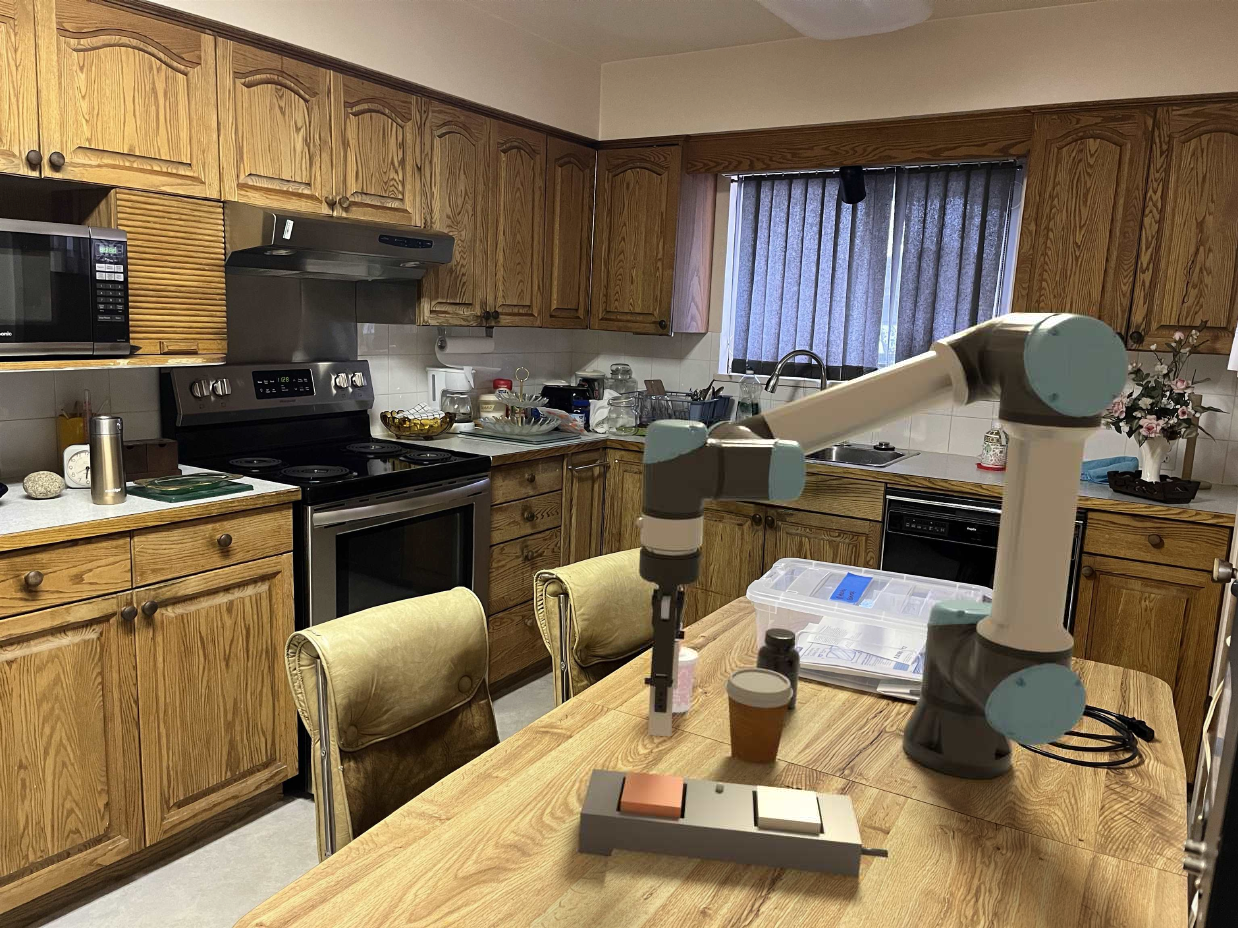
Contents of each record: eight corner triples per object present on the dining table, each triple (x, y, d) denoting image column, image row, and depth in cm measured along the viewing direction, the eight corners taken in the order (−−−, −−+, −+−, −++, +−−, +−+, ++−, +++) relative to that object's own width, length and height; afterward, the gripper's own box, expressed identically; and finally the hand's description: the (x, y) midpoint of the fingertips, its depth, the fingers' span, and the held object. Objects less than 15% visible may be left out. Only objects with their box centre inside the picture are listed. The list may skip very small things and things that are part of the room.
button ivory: (811, 828, 113) (815, 791, 112) (816, 862, 106) (820, 823, 105) (753, 822, 113) (757, 785, 113) (755, 855, 107) (758, 816, 106)
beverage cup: (650, 709, 146) (656, 625, 144) (664, 694, 152) (669, 614, 149) (687, 717, 144) (693, 632, 141) (699, 702, 149) (705, 620, 147)
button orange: (681, 814, 114) (683, 777, 114) (678, 846, 108) (680, 807, 107) (625, 807, 115) (627, 771, 114) (618, 839, 108) (621, 800, 107)
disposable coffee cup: (786, 779, 126) (793, 697, 124) (716, 769, 128) (722, 688, 126) (787, 748, 135) (794, 671, 133) (723, 739, 137) (728, 663, 135)
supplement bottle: (745, 699, 151) (750, 630, 149) (773, 690, 156) (779, 623, 153) (775, 715, 146) (781, 643, 144) (804, 705, 150) (810, 635, 148)
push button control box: (879, 836, 114) (883, 793, 113) (894, 888, 103) (899, 841, 102) (591, 804, 117) (593, 762, 116) (578, 851, 107) (580, 806, 106)
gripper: (648, 521, 125) (643, 668, 129) (629, 574, 101) (623, 754, 104) (704, 524, 124) (696, 672, 128) (698, 578, 100) (689, 759, 104)
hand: (663, 709), depth 116 cm, fingers open, 13 cm apart
